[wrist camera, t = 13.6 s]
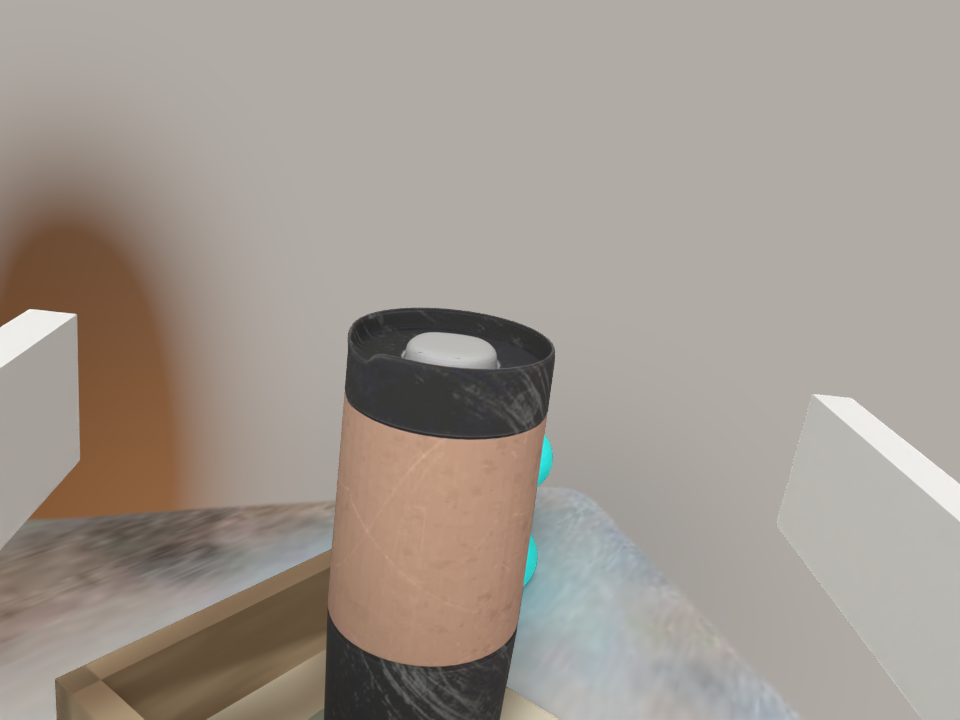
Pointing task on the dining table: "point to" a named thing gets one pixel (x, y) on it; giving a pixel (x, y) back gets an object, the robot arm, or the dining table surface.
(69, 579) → the dining table surface
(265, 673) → the corner tray
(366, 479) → the travel mug
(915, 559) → the robot arm
